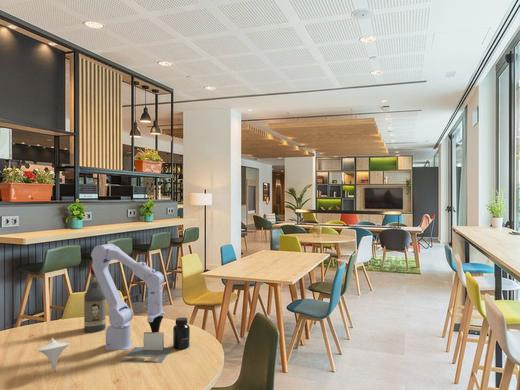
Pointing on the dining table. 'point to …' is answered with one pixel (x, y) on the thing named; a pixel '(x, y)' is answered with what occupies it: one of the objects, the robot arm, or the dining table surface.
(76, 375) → the dining table surface
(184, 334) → the supplement bottle
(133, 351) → the mat
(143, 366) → the dining table surface
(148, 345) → the tile
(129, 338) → the robot arm
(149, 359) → the turner
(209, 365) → the dining table surface
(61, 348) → the white spinning top
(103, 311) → the liquor
